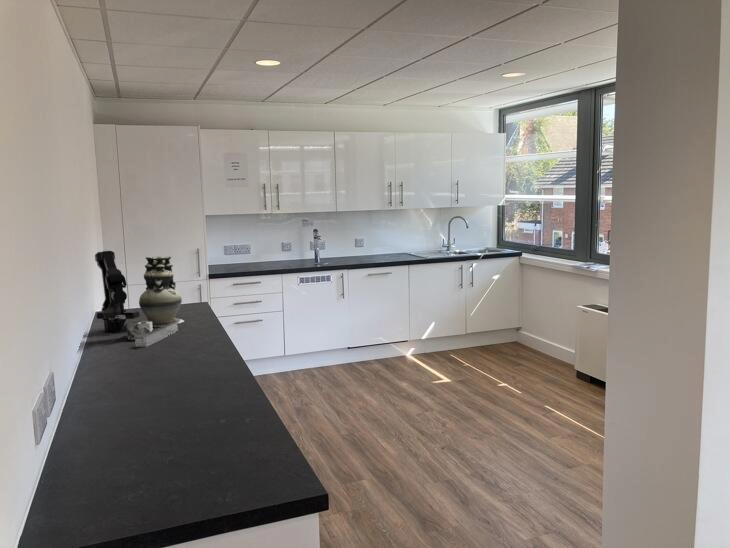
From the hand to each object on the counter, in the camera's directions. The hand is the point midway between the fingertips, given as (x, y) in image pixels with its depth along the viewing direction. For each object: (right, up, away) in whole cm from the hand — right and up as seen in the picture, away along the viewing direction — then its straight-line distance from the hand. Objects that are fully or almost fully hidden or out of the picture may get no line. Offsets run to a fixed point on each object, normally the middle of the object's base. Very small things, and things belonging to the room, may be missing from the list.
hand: (119, 332), depth 276 cm
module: (+7, -1, +13) cm, 15 cm away
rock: (+9, -3, +1) cm, 9 cm away
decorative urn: (+9, +2, +32) cm, 33 cm away
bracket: (+19, -2, -3) cm, 19 cm away
